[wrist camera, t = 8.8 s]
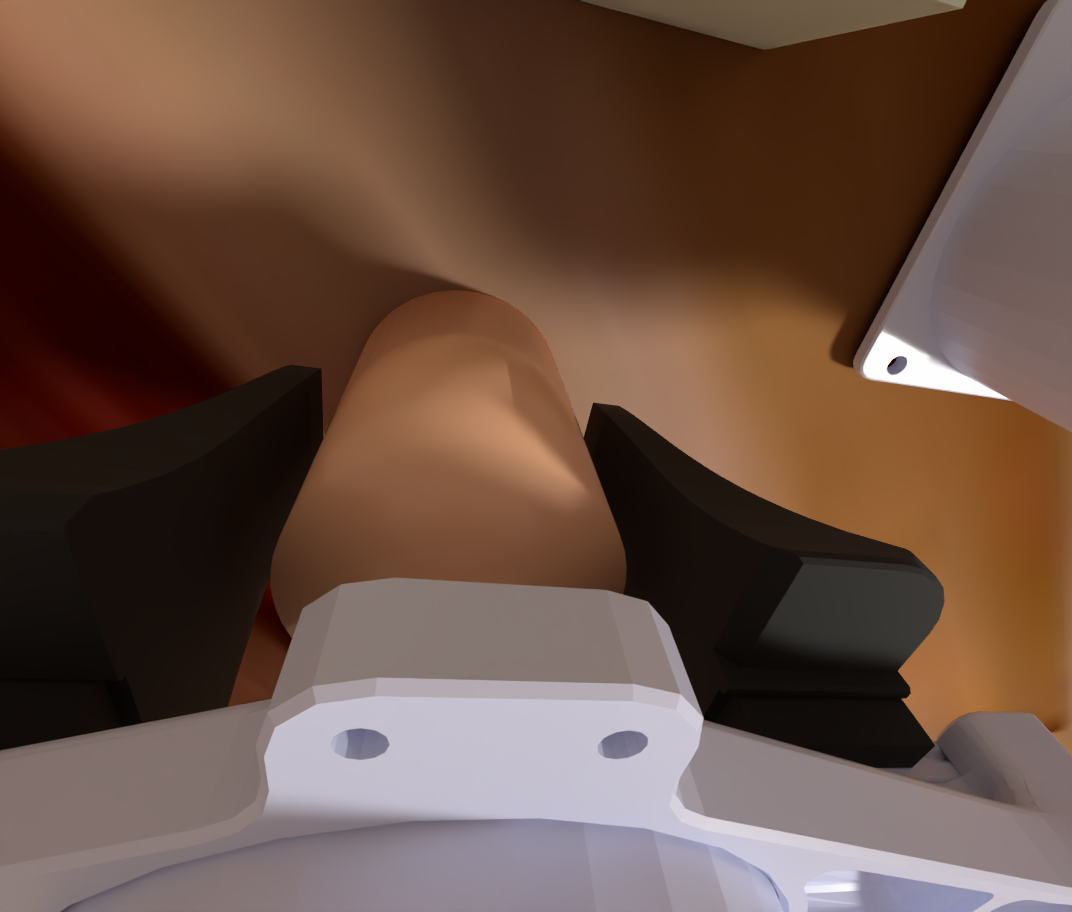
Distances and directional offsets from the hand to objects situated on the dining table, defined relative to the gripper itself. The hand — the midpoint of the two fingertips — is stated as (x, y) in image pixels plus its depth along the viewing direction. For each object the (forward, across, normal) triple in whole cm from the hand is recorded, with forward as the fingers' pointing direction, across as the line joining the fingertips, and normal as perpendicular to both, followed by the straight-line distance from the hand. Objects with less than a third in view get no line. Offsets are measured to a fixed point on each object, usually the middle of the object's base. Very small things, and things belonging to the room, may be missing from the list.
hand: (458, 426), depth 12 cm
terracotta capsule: (+2, 0, 0) cm, 2 cm away
